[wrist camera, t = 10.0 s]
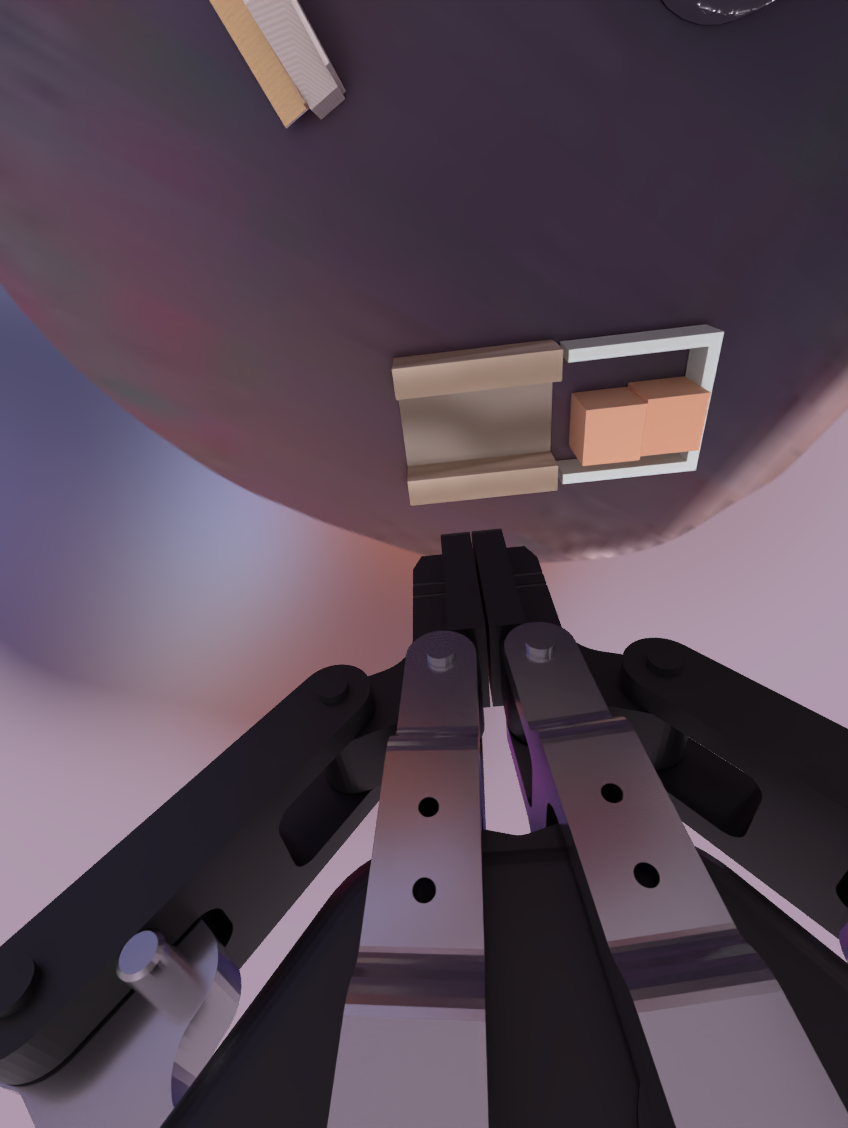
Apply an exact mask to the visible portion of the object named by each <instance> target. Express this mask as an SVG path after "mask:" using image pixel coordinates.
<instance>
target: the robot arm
mask: <svg viewBox="0 0 848 1128" xmlns="http://www.w3.org/2000/svg"><path fill="white" fill-rule="evenodd" d="M662 1H663V2H664V3H665V5H666V6H667V7H668V8H669V9H670V10H671V11H673V12H674V13H675V14H677V15H678V16H680V17H681V18H682V19H684V20H687V21H690V22H693V23H697V24H700V25H720V24H723V23H727V22H730V21H734V20H737V19H740V18H742V17H743V16H745V15H747V14H749V13H751V12H753V11H756V10H758V9H760V8H762V7H764V6H766V5H768V4H770V3H771V2H773V1H775V0H662ZM441 545H442V555H432V556H422V557H421V558H420V560H419V561H418V563H417V564H416V566H415V567H414V569H413V643H412V644H411V645H410V647H409V649H408V650H407V654H406V657H405V658H404V659H403V660H402V661H401V662H399V663H398V664H397V665H395V666H393V667H391V668H390V669H387V670H385V671H382V672H379V673H376V674H374V675H371V676H367V675H366V674H365V673H364V672H363V671H362V670H361V669H359V668H357V667H354V666H350V665H334V666H330V667H326V668H323V669H321V670H319V671H317V672H316V673H314V674H313V675H311V676H310V677H309V678H308V679H306V680H305V681H304V682H303V683H302V684H301V685H300V686H298V687H297V688H296V689H295V690H294V691H293V692H292V693H290V694H289V695H288V696H287V697H286V698H285V699H284V700H282V701H281V702H280V703H279V704H278V705H277V706H276V707H275V708H273V709H272V710H271V711H270V712H269V713H267V714H266V715H265V716H264V717H263V718H262V719H261V720H259V721H258V722H257V723H256V724H255V725H254V726H253V727H251V728H250V729H249V730H248V731H247V732H246V733H245V734H243V735H242V736H241V737H240V738H239V739H238V740H236V741H235V742H234V743H233V744H232V745H231V746H230V747H228V748H227V749H226V750H225V751H224V752H223V753H222V754H221V755H219V756H218V757H217V758H216V759H215V760H214V761H212V762H211V763H210V764H209V765H208V766H207V767H206V768H204V769H203V770H202V771H201V772H200V773H199V774H198V775H197V776H195V777H194V778H193V779H192V780H191V781H189V782H188V783H187V784H186V785H185V786H184V787H183V788H181V789H180V790H179V791H178V792H177V793H176V794H175V795H173V796H172V797H171V798H170V799H169V800H168V801H167V802H165V803H164V804H163V805H162V806H161V807H160V808H159V809H157V810H156V811H155V812H154V813H153V814H152V815H151V816H149V817H148V818H147V819H146V820H145V821H144V822H143V823H142V824H140V825H139V826H138V827H137V828H136V829H134V830H133V831H132V832H131V833H130V834H129V835H128V836H127V837H125V838H124V839H123V840H122V841H121V842H120V843H118V844H117V845H116V846H115V847H114V848H113V849H112V850H110V851H109V852H108V853H107V854H106V855H105V856H104V857H102V858H101V859H100V860H99V861H98V862H97V863H96V864H94V865H93V866H92V867H91V868H90V869H89V870H88V871H86V872H85V873H84V874H83V875H82V876H81V877H80V878H79V879H77V880H76V881H75V882H74V883H73V884H72V885H70V886H69V887H68V888H67V889H66V890H65V891H63V892H62V893H61V894H60V895H59V896H58V897H57V898H55V899H54V901H52V902H51V903H50V904H49V905H47V906H46V907H45V908H44V909H43V910H42V911H41V912H39V913H38V914H37V915H36V916H35V917H34V918H33V919H31V921H29V922H28V923H27V924H26V925H25V926H23V927H22V928H21V929H20V930H19V931H18V932H17V933H15V934H14V935H13V936H12V937H11V938H10V939H8V940H7V941H6V942H5V943H4V944H3V945H2V946H1V947H0V1086H1V1087H3V1088H4V1089H7V1090H9V1091H12V1092H14V1093H16V1094H19V1095H21V1096H22V1098H23V1100H24V1103H25V1105H26V1107H27V1109H28V1112H29V1114H30V1116H31V1118H32V1121H33V1123H34V1125H35V1128H848V729H847V728H845V727H843V726H841V725H839V724H837V723H835V722H833V721H831V720H829V719H827V718H825V717H823V716H821V715H819V714H817V713H815V712H814V711H812V710H810V709H808V708H806V707H804V706H802V705H800V704H798V703H796V702H794V701H792V700H790V699H788V698H786V697H784V696H782V695H780V694H778V693H776V692H775V691H772V690H770V689H768V688H767V687H764V686H762V685H761V684H759V683H757V682H755V681H753V680H751V679H749V678H747V677H745V676H743V675H741V674H739V673H737V672H735V671H733V670H732V669H730V668H728V667H726V666H724V665H722V664H720V663H718V662H716V661H714V660H712V659H710V658H708V657H706V656H704V655H702V654H700V653H698V652H696V651H694V650H692V649H690V648H688V647H687V646H685V645H682V644H680V643H678V642H675V641H672V640H668V639H663V638H645V639H641V640H638V641H635V642H634V643H632V644H630V645H629V646H628V647H627V648H626V649H625V651H624V653H623V655H622V654H615V653H609V652H602V651H597V650H593V649H589V648H586V647H584V646H582V645H580V644H578V643H576V641H575V640H574V638H573V636H572V635H571V634H570V633H569V632H568V631H566V630H565V629H563V628H562V627H561V624H560V621H559V619H558V615H557V613H556V610H555V607H554V604H553V601H552V598H551V595H550V592H549V590H548V587H547V585H546V581H545V578H544V575H543V574H542V570H541V567H540V564H539V561H538V558H537V557H536V556H535V555H534V554H533V553H532V552H531V551H529V550H528V549H527V548H526V547H525V546H521V547H511V548H506V544H505V541H504V537H503V533H502V530H501V529H491V530H481V531H472V543H471V537H470V532H462V533H452V534H443V535H441ZM488 677H489V678H488ZM489 683H490V690H491V696H492V702H493V706H504V710H505V715H506V728H507V740H508V743H509V747H510V751H511V755H512V759H513V762H514V766H515V770H516V773H517V777H518V781H519V785H520V789H521V792H522V796H523V800H524V804H525V807H526V811H527V815H528V820H529V824H530V831H531V833H529V834H525V835H511V834H505V833H500V832H494V831H489V830H486V819H485V795H484V768H483V744H482V743H483V742H482V735H483V732H484V711H483V708H484V707H490V697H489ZM689 737H690V738H689ZM692 739H693V740H692ZM695 741H696V742H695ZM700 744H701V745H700ZM703 746H704V747H703ZM706 748H707V749H706ZM708 749H709V750H708ZM711 751H712V752H711ZM714 753H715V754H714ZM717 755H718V756H717ZM719 756H720V757H719ZM722 758H723V759H722ZM725 760H726V761H725ZM727 761H728V762H727ZM730 763H731V764H730ZM733 765H734V766H733ZM736 767H737V768H736ZM738 768H739V769H740V770H739V769H738ZM741 770H742V771H741ZM744 772H745V773H744ZM378 801H379V808H378V815H377V822H376V830H375V837H374V844H373V852H372V859H371V860H369V861H368V862H366V863H365V864H363V865H362V866H360V867H359V868H358V869H357V870H356V871H354V872H353V873H352V874H351V875H350V876H348V877H347V878H346V879H345V880H344V881H343V883H342V884H341V885H340V886H339V887H338V888H337V889H336V890H335V891H334V893H333V894H332V895H331V896H330V898H329V899H328V900H327V901H326V903H325V904H324V906H323V907H322V908H321V910H320V911H319V912H318V914H317V915H316V916H315V918H314V919H313V920H312V922H311V923H310V925H309V926H308V927H307V929H306V930H305V931H304V933H303V934H302V936H301V937H300V938H299V940H298V941H297V942H296V943H295V945H294V946H293V948H292V949H291V950H290V952H289V953H288V954H287V956H286V957H285V959H284V960H283V961H282V963H281V964H280V965H279V967H278V968H277V969H276V971H275V972H274V973H273V975H272V976H271V977H270V979H269V980H268V981H267V983H266V984H265V986H264V987H263V988H262V990H261V991H260V992H259V994H258V995H257V996H256V998H255V999H254V1001H253V1002H252V1003H251V1004H250V1006H249V1007H248V1009H247V1010H246V1011H245V1013H244V1014H243V1015H242V1017H241V1018H240V1019H239V1021H238V1022H237V1024H236V1025H235V1026H234V1028H233V1029H232V1030H231V1032H230V1033H229V1034H228V1036H227V1037H226V1038H225V1040H224V1041H223V1042H222V1044H221V1045H220V1046H219V1048H218V1049H217V1051H216V1052H215V1053H214V1051H215V1049H216V1047H217V1046H218V1044H219V1042H220V1041H221V1039H222V1038H223V1036H224V1034H225V1033H226V1031H227V1030H228V1028H229V1026H230V1024H231V1022H232V1020H233V1018H234V1016H235V1013H236V1011H237V1008H238V1005H239V1000H240V994H241V975H240V970H239V969H240V968H241V967H242V965H243V964H244V963H245V962H246V961H247V959H248V958H249V957H250V956H251V955H252V953H253V952H254V951H255V950H256V949H257V947H258V946H259V945H260V944H261V942H262V941H263V940H264V939H265V938H266V937H267V935H268V934H269V933H270V932H271V930H272V929H273V928H274V927H275V926H276V924H277V923H278V922H279V921H280V920H281V918H282V917H283V916H284V915H285V914H286V912H287V911H288V910H289V909H290V908H291V906H292V905H293V904H294V903H295V901H296V900H297V899H298V898H299V897H300V895H301V894H302V893H303V892H304V890H305V889H306V888H307V887H308V886H309V885H310V883H311V882H312V881H313V880H314V878H315V877H316V876H317V875H318V874H319V872H320V871H321V870H322V869H323V868H324V866H325V865H326V864H327V863H328V862H329V860H330V859H331V858H332V857H333V855H334V854H335V853H336V852H337V851H338V850H339V848H340V847H341V846H342V845H343V843H344V842H345V841H346V840H347V839H348V837H349V836H350V835H351V834H352V833H353V831H354V830H355V829H356V828H357V827H358V825H359V824H360V823H361V822H362V820H363V819H364V818H365V817H366V816H367V814H368V813H369V812H370V811H371V810H372V808H373V807H374V806H375V805H376V804H377V802H378ZM682 822H684V823H685V824H686V825H688V826H689V827H691V828H692V829H693V830H694V831H696V832H697V833H698V834H700V835H701V836H702V837H704V838H705V839H706V840H708V841H709V842H710V843H712V844H713V845H714V846H716V847H717V848H718V849H720V850H721V851H722V852H724V853H725V854H726V855H728V856H729V857H730V858H732V859H733V860H734V861H736V862H737V863H738V864H740V865H741V866H743V867H744V868H745V869H746V870H748V871H749V872H750V873H752V874H753V875H754V876H756V877H757V878H758V879H760V880H761V881H762V882H764V883H765V884H766V885H768V886H769V887H770V888H772V889H773V890H774V891H776V892H777V893H778V894H779V895H781V896H782V897H783V898H785V899H787V900H788V901H789V902H790V903H791V904H793V905H794V906H795V907H797V908H798V909H799V910H801V911H802V912H804V913H805V914H806V915H807V916H809V917H810V918H811V919H813V920H814V921H815V922H817V923H818V924H819V925H821V926H822V927H823V928H825V929H826V930H827V931H829V932H830V933H831V934H833V935H834V936H835V937H837V938H838V939H839V941H840V945H841V949H842V952H843V954H844V956H845V959H846V961H847V963H846V962H845V961H844V960H843V959H841V958H840V957H839V956H837V955H836V954H835V953H834V952H833V951H831V950H830V949H829V948H828V947H826V946H825V945H824V944H823V943H822V942H820V941H819V940H818V939H817V938H815V937H814V936H813V935H811V934H810V933H809V932H808V931H807V930H805V929H804V928H803V927H802V926H800V925H799V924H798V923H797V922H795V921H794V920H793V919H792V918H790V917H789V916H788V915H787V914H786V913H784V912H783V911H782V910H781V909H779V908H778V907H777V906H776V905H774V904H773V903H772V902H771V901H769V900H768V899H767V898H766V897H765V896H763V895H762V894H761V893H760V892H758V891H757V890H756V889H755V888H753V887H752V886H751V885H749V884H748V883H747V882H746V881H745V880H743V879H742V878H741V877H740V876H738V875H737V874H736V873H735V872H734V871H732V870H731V869H730V868H728V867H727V866H726V865H724V864H723V863H722V862H720V861H719V860H717V859H715V858H714V857H713V856H711V855H709V854H708V853H707V852H705V851H703V850H701V849H699V848H697V847H695V846H694V845H693V842H692V841H691V839H690V837H689V835H688V833H687V831H686V829H685V827H684V825H683V823H682ZM213 1054H214V1055H213Z"/></svg>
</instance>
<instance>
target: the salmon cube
mask: <svg viewBox="0 0 848 1128" xmlns="http://www.w3.org/2000/svg"><path fill="white" fill-rule="evenodd" d="M628 387H629V388H630V389H631V390H632V391H633V392H634V393H636V394H637V395H638V396H639V397H640V398H642V399H643V400H644V401H645V402H646V403H647V411H646V419H645V426H644V433H643V441H642V448H641V455H640V456H649V455H659V454H668V453H677V452H687V451H696V450H699V447H700V442H701V437H702V432H703V427H704V422H705V417H706V412H707V408H708V403H709V398H710V393H711V392H709V391H707V390H706V389H704V388H703V387H701V386H700V385H698V384H696V383H695V382H693V381H692V380H690V379H688V378H687V377H685V376H682V377H673V378H664V379H656V380H647V381H638V382H629V383H628Z"/></svg>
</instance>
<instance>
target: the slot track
mask: <svg viewBox="0 0 848 1128" xmlns="http://www.w3.org/2000/svg"><path fill="white" fill-rule="evenodd" d="M562 366H563V349H562V348H561V347H560V346H559V345H558V344H557V343H556V342H555V341H554V340H553V339H551V340H542V341H534V342H525V343H517V344H508V345H500V346H492V347H483V348H475V349H466V350H458V351H449V352H441V353H432V354H424V355H415V356H407V357H399V358H393V364H392V375H393V382H394V389H395V396H396V400H399V406H400V413H401V421H402V428H403V435H404V443H405V450H406V457H407V465H408V477H407V483H408V490H409V497H410V504H411V506H412V505H422V504H431V503H441V502H451V501H460V500H470V499H479V498H489V497H499V496H508V495H518V494H527V493H537V492H547V491H556V490H557V485H558V464H557V462H556V460H555V459H554V457H553V455H552V453H551V451H550V443H551V412H552V382H559V381H562Z"/></svg>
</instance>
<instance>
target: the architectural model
mask: <svg viewBox="0 0 848 1128" xmlns="http://www.w3.org/2000/svg"><path fill="white" fill-rule="evenodd" d="M210 2H211V4H212V5H213V7H214V9H215V10H216V12H217V14H218V15H219V17H220V19H221V20H222V22H223V24H224V25H225V27H226V29H227V30H228V32H229V34H230V35H231V37H232V39H233V40H234V42H235V44H236V45H237V47H238V49H239V50H240V52H241V54H242V55H243V57H244V59H245V60H246V62H247V64H248V66H249V67H250V69H251V71H252V72H253V74H254V76H255V77H256V79H257V81H258V82H259V84H260V86H261V87H262V89H263V91H264V92H265V94H266V96H267V97H268V99H269V101H270V102H271V104H272V106H273V107H274V109H275V111H276V112H277V114H278V116H279V117H280V119H281V121H282V122H283V124H284V126H285V127H286V128H288V127H289V126H290V125H291V124H292V123H294V122H295V121H296V120H297V119H298V118H299V117H300V116H301V115H303V114H304V113H305V112H306V111H307V110H308V109H309V108H310V109H311V110H312V111H313V112H314V113H315V114H316V115H317V116H318V117H319V118H320V119H321V120H322V119H323V118H324V117H325V116H326V115H327V114H328V113H330V112H331V111H332V110H333V109H334V108H335V107H336V106H338V105H339V104H340V103H341V102H342V101H343V100H344V99H345V97H344V95H343V94H344V93H345V92H346V90H345V88H344V86H343V85H342V83H341V81H340V79H339V77H338V75H337V73H336V71H335V69H334V68H333V66H332V64H331V62H330V60H329V58H328V56H327V54H326V52H325V51H324V49H323V47H322V45H321V43H320V41H319V39H318V37H317V35H316V34H315V32H314V30H313V28H312V26H311V24H310V22H309V20H308V18H307V17H306V15H305V13H304V11H303V9H302V7H301V5H300V3H299V1H298V0H210ZM342 93H343V94H342Z"/></svg>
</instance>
